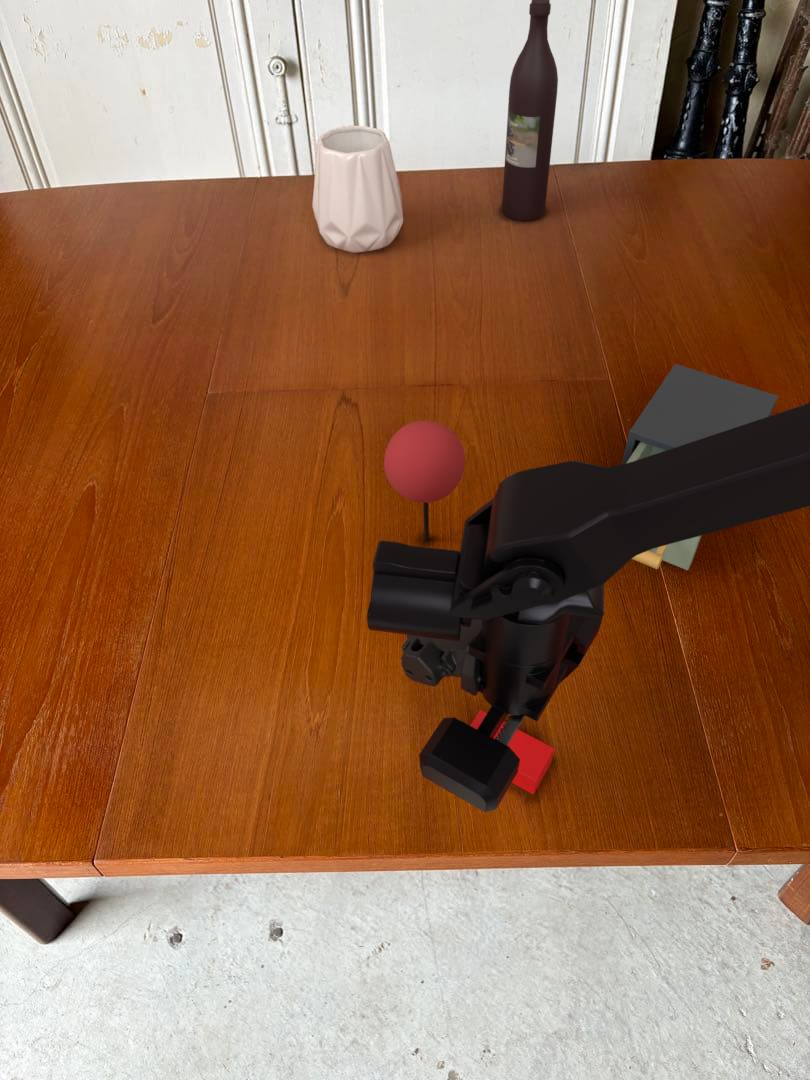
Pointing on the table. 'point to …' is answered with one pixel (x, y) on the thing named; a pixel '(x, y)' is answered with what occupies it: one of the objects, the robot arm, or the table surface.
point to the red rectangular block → (525, 756)
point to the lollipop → (424, 463)
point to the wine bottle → (530, 121)
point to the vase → (356, 189)
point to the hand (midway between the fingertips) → (508, 740)
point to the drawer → (671, 553)
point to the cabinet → (696, 410)
